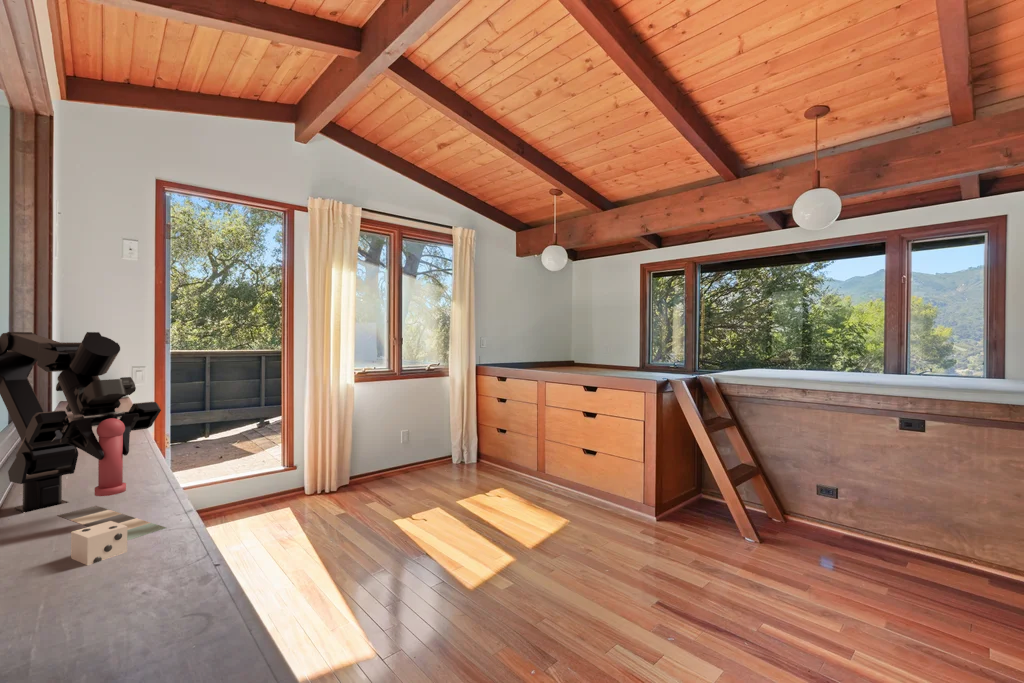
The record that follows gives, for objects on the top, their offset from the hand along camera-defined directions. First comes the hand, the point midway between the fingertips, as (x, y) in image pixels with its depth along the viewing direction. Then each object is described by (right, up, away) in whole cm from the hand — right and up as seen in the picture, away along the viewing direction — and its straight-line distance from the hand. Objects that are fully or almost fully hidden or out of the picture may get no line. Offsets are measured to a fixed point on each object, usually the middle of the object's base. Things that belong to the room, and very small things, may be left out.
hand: (114, 456), depth 86 cm
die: (+9, -13, -13) cm, 20 cm away
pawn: (-1, -7, +1) cm, 7 cm away
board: (-1, -13, +1) cm, 13 cm away
